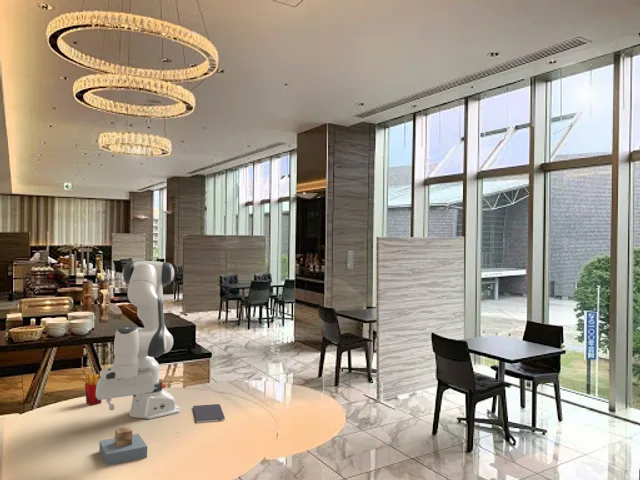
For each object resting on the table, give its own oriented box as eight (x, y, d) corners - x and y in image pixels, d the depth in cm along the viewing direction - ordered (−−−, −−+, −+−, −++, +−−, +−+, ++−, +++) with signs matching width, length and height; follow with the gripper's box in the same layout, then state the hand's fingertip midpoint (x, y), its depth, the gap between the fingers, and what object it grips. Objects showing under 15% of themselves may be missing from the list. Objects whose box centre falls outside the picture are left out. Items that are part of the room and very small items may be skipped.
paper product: (192, 409, 233) (196, 424, 213) (193, 405, 233) (196, 420, 213) (219, 407, 237) (225, 421, 217) (219, 403, 237) (225, 418, 217)
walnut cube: (128, 439, 182) (129, 426, 183) (131, 444, 178) (132, 430, 178) (114, 442, 180) (115, 428, 180) (117, 447, 175) (118, 433, 176)
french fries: (96, 400, 240) (97, 370, 241) (105, 403, 236) (107, 372, 236) (79, 404, 233) (80, 373, 234) (88, 408, 228) (89, 376, 229)
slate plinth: (138, 444, 188) (138, 433, 189) (147, 457, 177) (147, 446, 177) (99, 451, 181) (99, 440, 181) (105, 465, 169) (106, 454, 169)
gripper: (152, 365, 188) (151, 400, 188) (95, 371, 177) (94, 409, 177) (156, 368, 183) (155, 405, 183) (98, 376, 171) (97, 415, 171)
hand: (125, 407), depth 179 cm, fingers open, 8 cm apart
